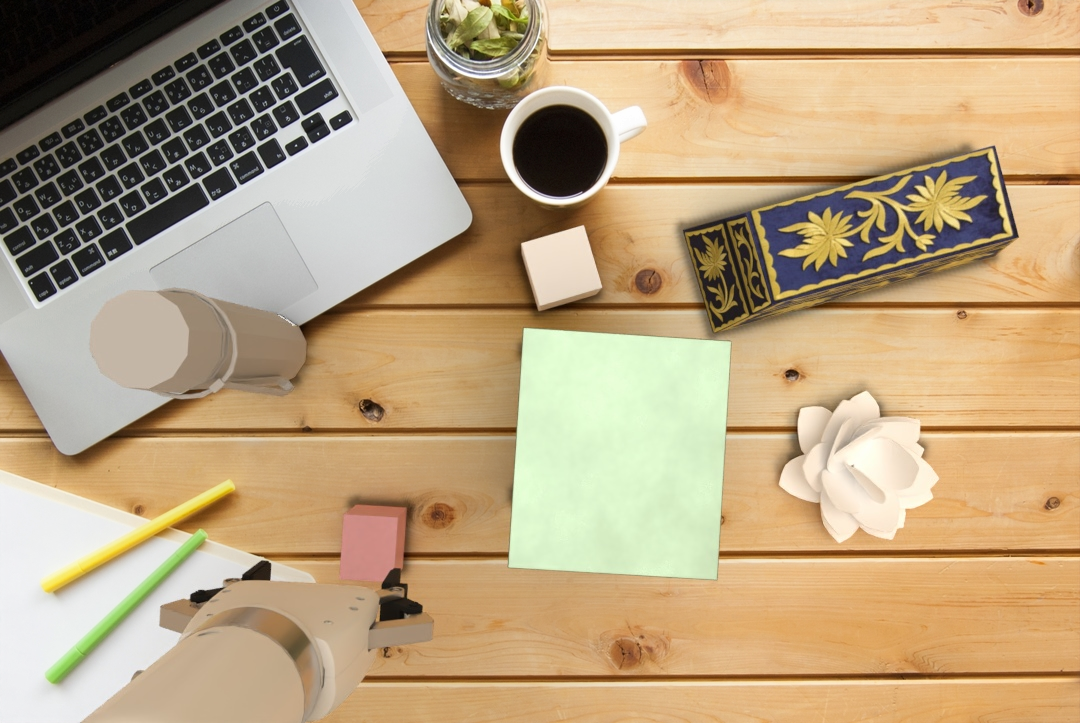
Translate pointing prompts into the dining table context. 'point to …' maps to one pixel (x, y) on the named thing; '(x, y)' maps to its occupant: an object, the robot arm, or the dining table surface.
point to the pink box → (372, 542)
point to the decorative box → (852, 239)
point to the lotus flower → (859, 467)
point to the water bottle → (194, 345)
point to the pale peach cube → (561, 268)
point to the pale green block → (619, 454)
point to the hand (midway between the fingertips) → (330, 584)
